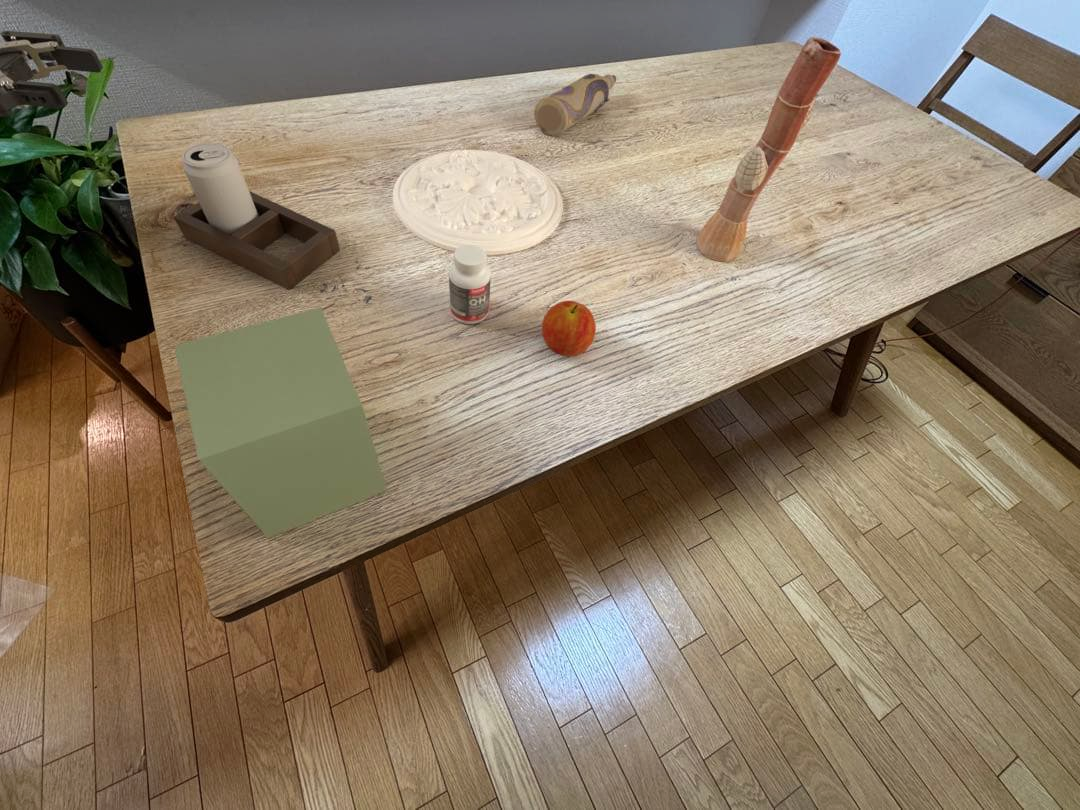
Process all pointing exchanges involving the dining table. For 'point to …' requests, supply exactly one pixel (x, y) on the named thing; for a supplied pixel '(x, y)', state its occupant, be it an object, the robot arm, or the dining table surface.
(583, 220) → the dining table surface
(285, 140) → the dining table surface
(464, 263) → the pill bottle
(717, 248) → the vase
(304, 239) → the tray
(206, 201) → the beverage can
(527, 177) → the ceiling medallion
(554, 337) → the fruit
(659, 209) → the dining table surface
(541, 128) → the decorative bottle
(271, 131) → the dining table surface
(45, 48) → the robot arm
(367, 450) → the stand
